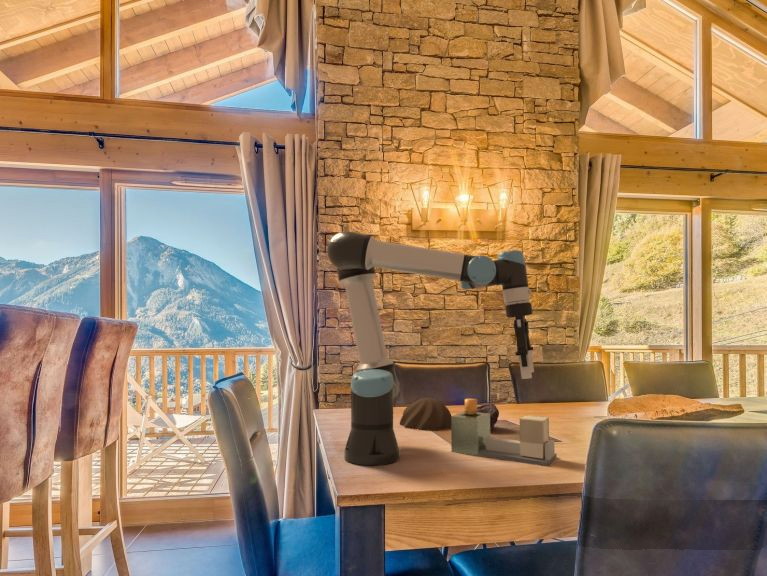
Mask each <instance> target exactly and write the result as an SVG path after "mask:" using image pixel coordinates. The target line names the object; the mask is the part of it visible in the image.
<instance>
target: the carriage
mask: <svg viewBox="0 0 767 576" xmlns="http://www.w3.org/2000/svg"><path fill="white" fill-rule="evenodd" d="M549 419H550V418H549V417H548V416H538V415H530V414H526V415H525V416H523V417H521V418H519V441H520V455H521V456H527V457H534V458H541V459H543V458H544V444H546V443H547V442H548V441H550V421H549Z"/></svg>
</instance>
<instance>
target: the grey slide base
mask: <svg viewBox="0 0 767 576" xmlns="http://www.w3.org/2000/svg"><path fill="white" fill-rule="evenodd" d="M478 456H479V457H486V458H492V459H496V460H497V459H498V460H505V461H510V460H511V461H513V462H517V463H526V464H529V465H530V464H531V465H536V464H537V465H538V466H543V465H544V467H548V466H549V465H550V464H551V463H552V462H553V461H555V460H556V458H557V453H555V440H554V439H549V441H548V442H547V443H546V444H544V458H543V459H541V458H534V457H527V456H521V455H520V440H518V439H517V440H516V439H507V438H500V437H494V436H493V437H492V436H490V437H488V438H486V447H485V448H484V449H482V450H480V451H478ZM511 461H510V462H511Z"/></svg>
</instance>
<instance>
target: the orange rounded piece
mask: <svg viewBox="0 0 767 576" xmlns="http://www.w3.org/2000/svg"><path fill="white" fill-rule="evenodd" d="M477 407H478V399H477V398H464V411H465V414H468V415H474V414H477Z"/></svg>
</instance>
